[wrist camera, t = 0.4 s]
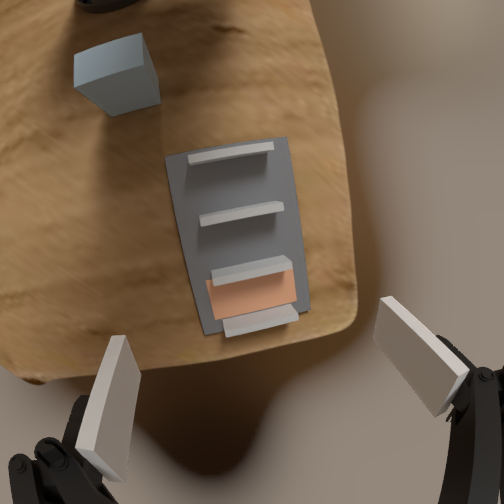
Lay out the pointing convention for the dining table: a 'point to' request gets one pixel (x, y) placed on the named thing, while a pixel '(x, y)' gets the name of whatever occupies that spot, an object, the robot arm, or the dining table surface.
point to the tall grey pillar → (118, 75)
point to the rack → (241, 234)
